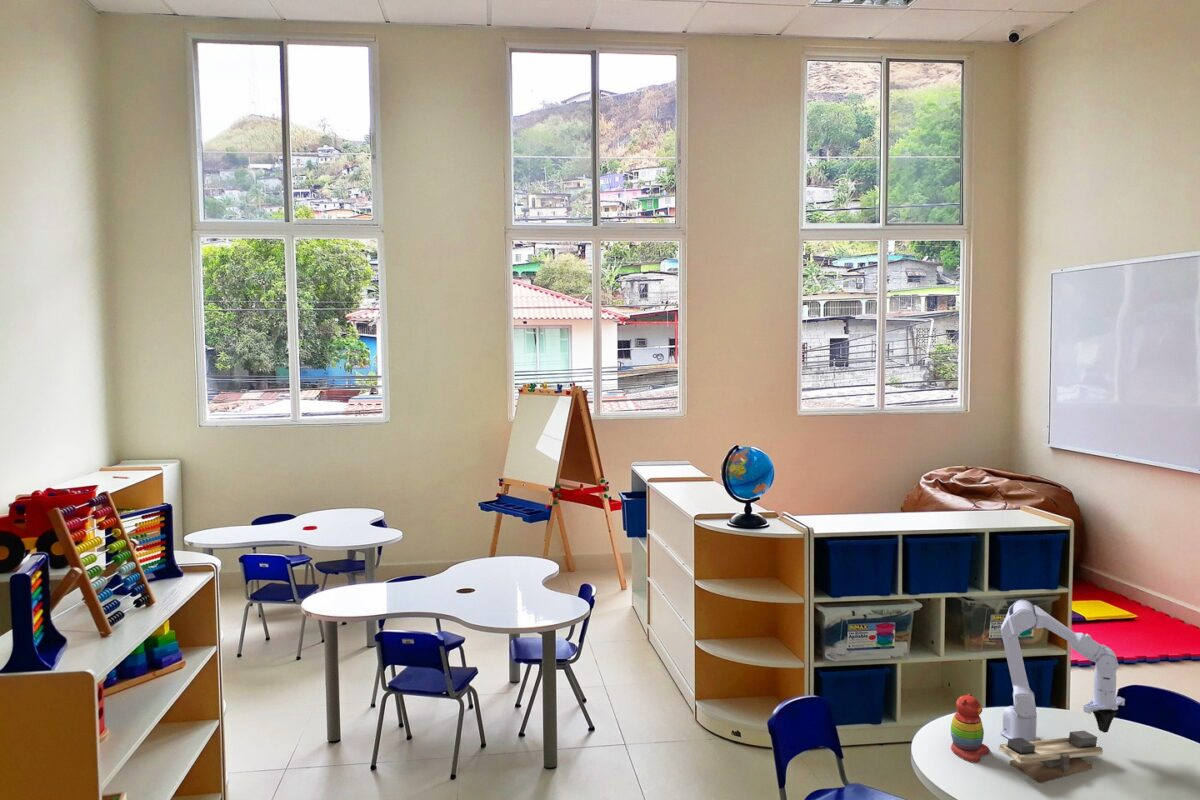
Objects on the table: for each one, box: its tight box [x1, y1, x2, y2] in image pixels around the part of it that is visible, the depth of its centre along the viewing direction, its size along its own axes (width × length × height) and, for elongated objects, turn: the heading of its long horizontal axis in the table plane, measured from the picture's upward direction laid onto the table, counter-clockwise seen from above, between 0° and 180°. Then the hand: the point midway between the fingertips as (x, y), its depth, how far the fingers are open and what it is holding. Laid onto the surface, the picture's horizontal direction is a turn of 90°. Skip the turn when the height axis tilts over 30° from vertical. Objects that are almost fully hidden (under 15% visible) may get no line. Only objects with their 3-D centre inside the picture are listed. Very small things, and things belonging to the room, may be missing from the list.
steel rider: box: [1068, 730, 1098, 749], centre depth 257 cm, size 4×6×4 cm
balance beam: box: [998, 737, 1104, 763], centre depth 253 cm, size 8×32×2 cm, turn 110°
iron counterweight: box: [1007, 738, 1035, 755], centre depth 248 cm, size 5×5×3 cm
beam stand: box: [1009, 737, 1093, 784], centre depth 253 cm, size 11×20×6 cm, turn 110°
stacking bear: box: [950, 693, 991, 763], centre depth 262 cm, size 11×10×18 cm
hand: (1103, 730), depth 259 cm, fingers closed
